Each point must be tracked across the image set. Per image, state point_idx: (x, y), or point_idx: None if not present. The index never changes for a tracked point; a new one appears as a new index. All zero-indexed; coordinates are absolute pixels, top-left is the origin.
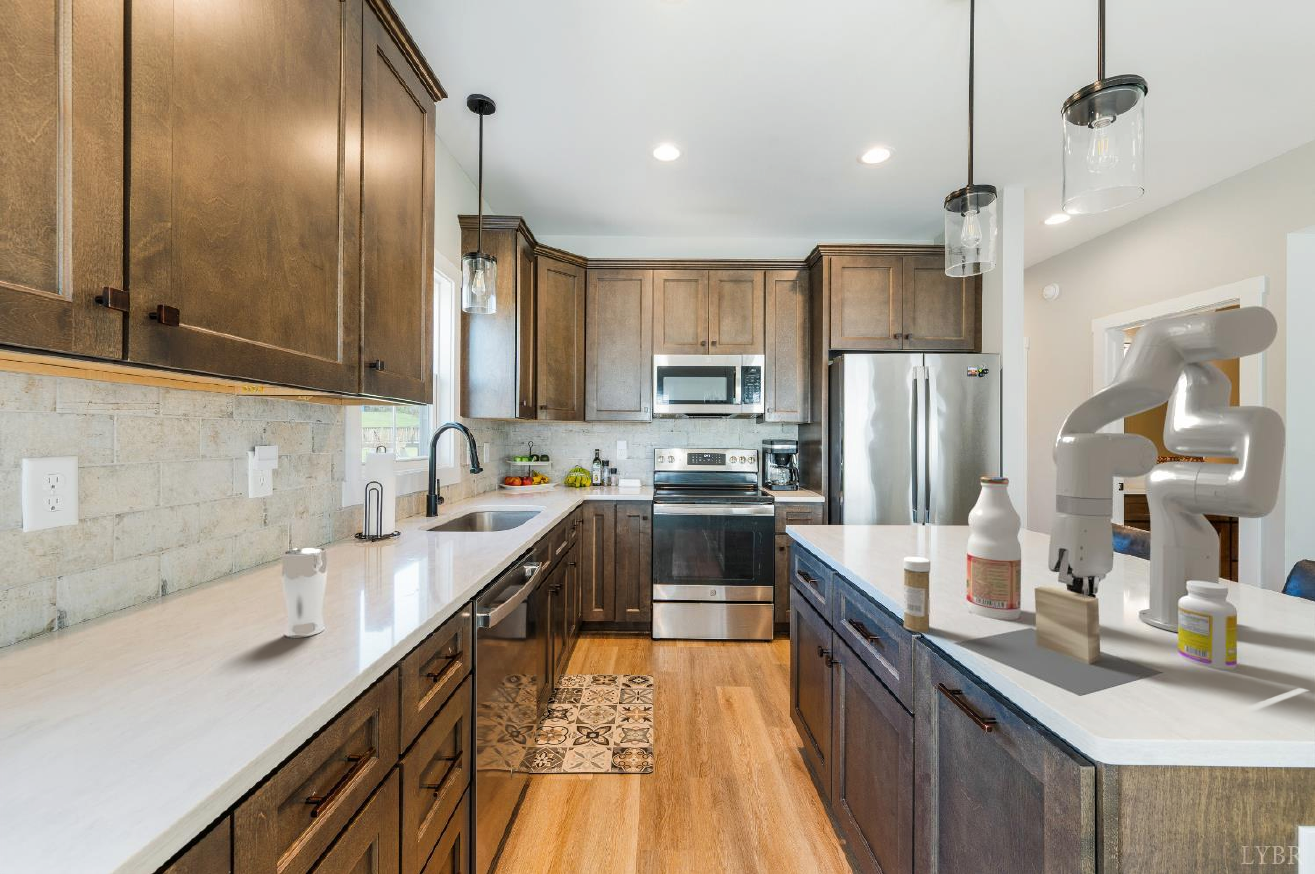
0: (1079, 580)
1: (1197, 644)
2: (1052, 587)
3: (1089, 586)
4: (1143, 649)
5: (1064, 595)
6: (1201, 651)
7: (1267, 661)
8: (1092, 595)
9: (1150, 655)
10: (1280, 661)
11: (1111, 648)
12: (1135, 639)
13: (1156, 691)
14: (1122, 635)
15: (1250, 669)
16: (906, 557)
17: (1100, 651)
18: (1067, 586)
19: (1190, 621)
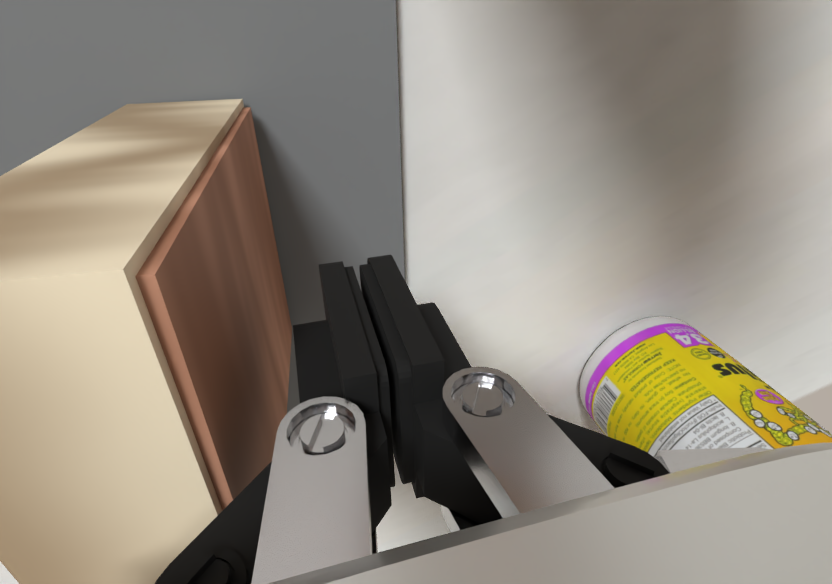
0: (484, 481)
1: (618, 433)
2: (123, 370)
3: (465, 510)
4: (613, 247)
5: (31, 564)
6: (605, 424)
7: (772, 373)
8: (414, 484)
9: (566, 291)
10: (793, 377)
11: (517, 209)
12: (716, 164)
13: None
14: (733, 113)
15: None
16: None
17: (401, 253)
18: (272, 461)
19: None
